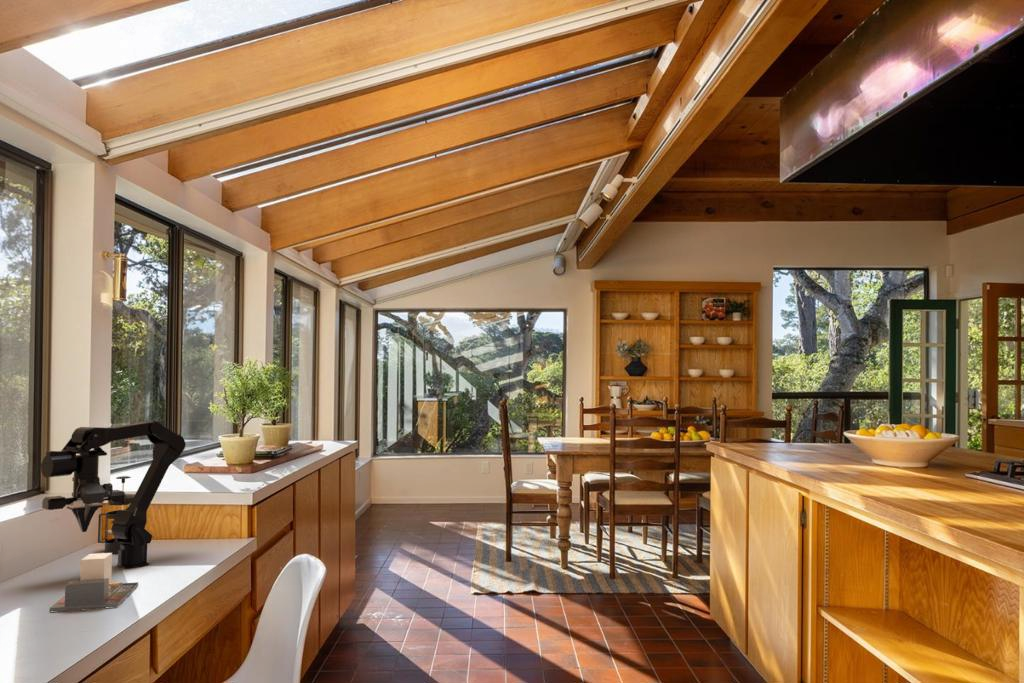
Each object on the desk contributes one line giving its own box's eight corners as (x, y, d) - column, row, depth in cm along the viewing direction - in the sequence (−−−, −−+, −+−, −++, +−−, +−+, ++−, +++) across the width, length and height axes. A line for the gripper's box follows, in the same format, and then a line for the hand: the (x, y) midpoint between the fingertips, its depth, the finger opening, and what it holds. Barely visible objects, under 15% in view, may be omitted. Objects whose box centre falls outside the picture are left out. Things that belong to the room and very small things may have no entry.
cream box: (76, 592, 171) (78, 554, 172) (122, 589, 174) (123, 552, 174) (67, 599, 166) (69, 560, 166) (114, 596, 168) (116, 557, 169)
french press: (143, 546, 226) (145, 474, 227) (136, 553, 217) (138, 477, 218) (102, 548, 223) (105, 475, 224) (93, 555, 214) (96, 479, 215)
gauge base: (76, 590, 177) (77, 566, 178) (138, 586, 181) (138, 562, 181) (49, 612, 160) (50, 585, 160) (117, 607, 164) (118, 581, 164)
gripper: (56, 479, 179) (53, 541, 178) (134, 472, 193) (132, 530, 192) (42, 475, 187) (40, 535, 186) (118, 469, 201) (117, 525, 200)
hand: (83, 531), depth 191 cm, fingers closed
